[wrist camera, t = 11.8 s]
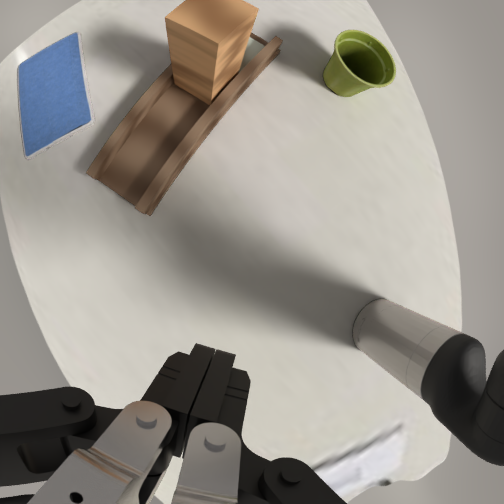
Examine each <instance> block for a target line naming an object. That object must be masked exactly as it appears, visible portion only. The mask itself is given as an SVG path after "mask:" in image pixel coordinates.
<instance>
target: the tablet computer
mask: <svg viewBox="0 0 504 504" xmlns="http://www.w3.org/2000/svg"><path fill="white" fill-rule="evenodd" d="M18 100H19V114H20V125H21V135H22V142H23V149H24V155H25V158H26V159H28V160H30V159H32V158H34V157H35V156H37V154H40V153H42V152H44V151H46V150H47V149H49V148H51V147H52V146H54V145H56V144H58V143H60V142H61V141H63V140H65V139H67V138H69V137H71V136H73V135H75V134H77V133H79V132H81V131H83V130H85V129H87V128H89V127H91V126H92V125H93V124H94V122H95V116H94V111H93V107H92V102H91V98H90V92H89V87H88V81H87V75H86V69H85V63H84V56H83V49H82V40H81V33H79V32H75V33H72V34H71V35H69V36H67V37H65V38H63V39H61V40H59V41H57V42H55V43H53V44H52V45H50V46H48V47H46V48H45V49H43V50H41V51H40V52H38V53H36V54H35V55H33V56H31V57H30V58H28V59H27V60H25V61H24V62H22V63H21V64H20V65H19V67H18Z"/></svg>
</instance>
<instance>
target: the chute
mask: <svg viewBox="0 0 504 504" xmlns="http://www.w3.org/2000/svg"><path fill="white" fill-rule="evenodd" d="M282 41H283V40H281V39H280V38H278V37H277V36H275V37H274V38H273V39H272V40H271V41H270V42H269V43H268V42H266V41H265V40H263V39H262V38H260V37H258V36H256V35H255V34H253V33H251V34H250V37H249V40H248V43H247V46H246V50H245V53H244V56H243V59H242V63H241V66H240V69H239V73H238V75H237V76H236V77H235V78H234V79H233V80H232V81H231V82H230V84H229V85H228V86H227V87H226V88H225V89H224V90H223V91H222V93H221V94H220V95H219V96H218V97H217V98H216V99H215V101H214V102H213V103H212V104H211V105H208V104H206V103H205V102H203V101H202V100H200V99H198V98H197V97H195V96H193V95H192V94H190V93H189V92H187V91H185V90H184V89H182V88H180V87H178V86H177V85H175V83H174V77H173V70H172V64H170V66H169V67H168V68H167V69H166V70H165V71H164V72H163V73H162V74H161V75H160V76H159V77H158V78H157V80H156V81H155V82H154V83H153V84H152V85H151V86H150V87H149V89H148V90H147V91H146V92H145V93H144V94H143V96H142V97H141V98H140V99H139V100H138V101H137V103H136V104H135V105H134V106H133V108H132V109H131V110H130V111H129V113H128V114H127V115H126V116H125V118H124V119H123V120H122V122H121V123H120V124H119V126H118V127H117V128H116V130H115V131H114V132H113V134H112V135H111V136H110V138H109V139H108V141H107V142H106V143H105V145H104V146H103V148H102V149H101V151H100V152H99V154H98V155H97V157H96V158H95V160H94V161H93V163H92V164H91V166H90V167H89V169H88V170H87V172H86V173H87V174H88V175H89V176H91V177H92V178H94V179H97V180H99V181H101V182H102V183H103V184H105V185H106V186H108V187H109V188H110V189H112V190H113V191H115V192H116V193H118V194H119V195H120V196H122V197H123V198H125V199H126V200H127V201H129V202H130V203H132V204H133V205H135V206H136V207H135V208H136V209H137V210H138V211H140V212H141V213H143V214H147V215H149V216H151V214H152V213H153V211H154V210H155V208H156V207H157V205H158V204H159V202H160V201H161V199H162V198H163V196H164V195H165V193H166V192H167V190H168V189H169V188H170V186H171V185H172V183H173V182H174V180H175V179H176V178H177V176H178V175H179V173H180V172H181V171H182V169H183V168H184V166H185V165H186V164H187V162H188V161H189V160H190V158H191V157H192V156H193V154H194V153H195V152H196V150H197V149H198V148H199V146H200V145H201V144H202V142H203V141H204V140H205V139H206V137H207V136H208V135H209V133H210V132H211V131H212V130H213V128H214V127H215V126H216V125H217V123H218V122H219V121H220V120H221V118H222V117H223V116H224V115H225V114H226V112H227V111H228V110H229V109H230V108H231V106H232V105H233V104H234V103H235V102H236V100H237V99H238V98H239V97H240V96H241V95H242V93H243V92H244V91H245V90H246V89H247V88H248V87H249V85H250V84H251V83H252V82H253V81H254V80H255V79H256V78H257V77H258V75H259V74H260V73H261V72H262V71H263V70H264V69H265V68H266V67H267V66H268V65H269V64H270V63H271V61H272V60H273V59H274V58H275V57H276V56H277V55H278V54H279V53H280V51H281V50H279V47H280V45H281V43H282Z"/></svg>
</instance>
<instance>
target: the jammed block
mask: <svg viewBox="0 0 504 504" xmlns="http://www.w3.org/2000/svg"><path fill="white" fill-rule="evenodd" d="M258 10H259V9H258V8H256V7H254V6H253V5H251V4H249V3H247V2H245V1H243V0H186V1H184V2H183V3H182V4H180V5H179V6H178V7H177V8H175V9H174V10H173V11H172V12H171V13H169V14H168V15H167V16H166V17H165V22H166V30H167V37H168V44H169V51H170V58H171V64H172V70H173V77H174V83H175V85H177V86H178V87H180V88H182V89H184V90H185V91H187V92H189V93H190V94H192V95H193V96H195V97H197V98H198V99H200V100H202V101H203V102H205V103H206V104H208V105H211V104H212V103H213V102H214V101H215V99H216V98H217V97H218V96H219V95H220V94H221V93H222V91H223V90H224V89H225V88H226V87H227V86H228V85H229V84H230V82H231V81H232V80H233V79H234V78H235V77H236V76H237V75H238V73H239V69H240V66H241V63H242V59H243V56H244V53H245V50H246V46H247V43H248V40H249V37H250V34H251V31H252V28H253V25H254V22H255V19H256V16H257V13H258Z"/></svg>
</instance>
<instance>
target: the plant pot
mask: <svg viewBox="0 0 504 504" xmlns="http://www.w3.org/2000/svg"><path fill="white" fill-rule="evenodd" d="M334 48H335V49H334V53H333V55H332V56H331V58H330V60H329V62H328V64H327V66H326V68H325V69H324V72H323V78H324V81H325V83H326V85H327V87H328V88H330V89H331V90H332V91H334V92H335V93H336V94H337V95H339V96H343V97H350V96H353V95H355V94H358V93H360V92H362V91H365V90H367V89H369V88H374V87H377V88H380V87H385V86H387V85H389V84H391V83H392V82H393V80H394V78H395V75H396V67H395V63H394V60H393V58H392V56H391V54H390V53H389V51H388V50H387V49H386V47H385V46H384V45H383V44H382V43H381V42H380V41H379V40H377V39H376V38H375V37H373V36H371V35H369V34H367V33H365V32H362V31H358V30H346V31H343V32H341V33H340V34H339V35H338V36H337V38H336V40H335V44H334Z"/></svg>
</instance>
